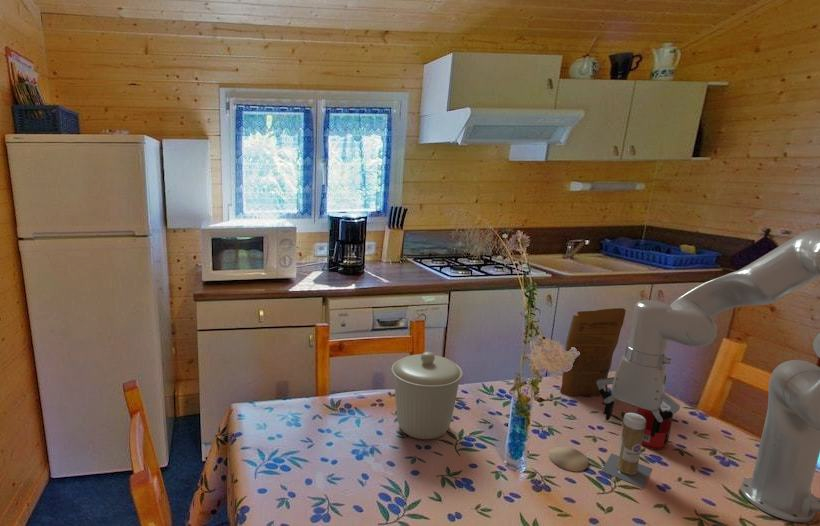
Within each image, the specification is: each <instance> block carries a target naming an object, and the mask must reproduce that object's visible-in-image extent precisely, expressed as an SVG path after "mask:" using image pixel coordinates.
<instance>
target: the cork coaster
mask: <svg viewBox="0 0 820 526" xmlns="http://www.w3.org/2000/svg"><path fill="white" fill-rule="evenodd" d="M548 458H549V460H550V461H551V463H553V464H554V465H555V466H557V467H559V468H561V469H563V470H565V471H570V472H582V471H585V470H586V469H587V468H588V467H589V459H588V457H587V456H586V455H585V454H584V453H583V452H581V451H579V450H578V449H576V448H573V447H570V446H563V445H561V446H555V447H552V448H551V449H550V450H549V453H548Z"/></svg>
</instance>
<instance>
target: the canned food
mask: <svg viewBox="0 0 820 526" xmlns="http://www.w3.org/2000/svg"><path fill="white" fill-rule="evenodd" d="M660 407H661V409H662V411H663V412H664V411H666V410H669V409H670V408H671V407H670V406H669V405H668V404H666V403H665V402H664V401H662V404H661V405H660ZM636 410H637V411H636V414H639V415H641V416H643V417H644V418H645V419H646V426H645V429H644V432H643V439H642V445H641V446H642V447H645V448H647V449H652V450H656V451H657V450H664V449H666V448H667V446H668V443H669V438H670V433H671V428H672V423H673V418H674V415H673V416H672V417H671V418H668V419H666V420H663V421H662V423H661V428H660V432H659V434H658V433H656V434H655V436H654V437H651V436H650V435H651V430H652V426H653V421H654V419H655V416H654V414H653V412H652V411H650V410H647V409H644V408H641V407H638V406H637V409H636Z"/></svg>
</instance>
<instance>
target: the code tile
mask: <svg viewBox="0 0 820 526" xmlns="http://www.w3.org/2000/svg"><path fill="white" fill-rule="evenodd" d="M618 457H619V454H618V455H617V454H615V453H612V452H610V455H609V456H608V459H607V461H606V462H605V464H604V466H603V467H602V469H601V472H602V473H605V474H607V475H609V476H612V477H615V478H616V479H619V480H622V481H623V482H627V483H629V484H632V485H634V486H636V487H640V488H642V489H645V486H646V483H647V481H648V479H649V477H650V473H651V472H652V467H649V466H647V465H643V464H641V463H639V462H638V468H637V470H638V471H637V473H636V474H635V475H628V474H625V473H622V472H621V471H619V470H618V468H617V463H618Z"/></svg>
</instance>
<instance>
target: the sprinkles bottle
mask: <svg viewBox="0 0 820 526" xmlns="http://www.w3.org/2000/svg"><path fill="white" fill-rule="evenodd" d="M622 423H623V427H622V431H621V435H620V436H621V437H620V442H619V449H618V456H619V457H618V463H617V468H618V470H619V471H621V472H622V473H625V474H628V475H635V474H636V473H637V471H638V470H637V468H638V463H639V462H640V459H641V452H642V446H643V445H642V439H643V432H644V429H645V426H646V419H645V418H644V417H643V416H641V415H639V414H637V413H634V412H626V413H625V414H624V415H623V421H622Z"/></svg>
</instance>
